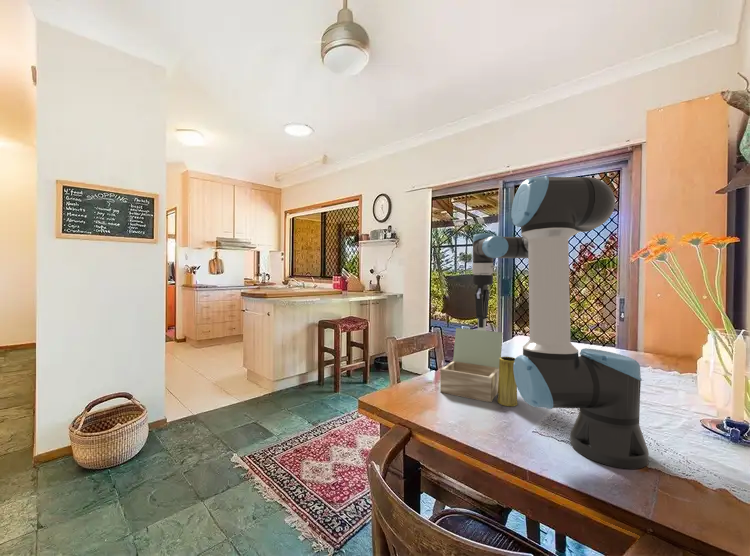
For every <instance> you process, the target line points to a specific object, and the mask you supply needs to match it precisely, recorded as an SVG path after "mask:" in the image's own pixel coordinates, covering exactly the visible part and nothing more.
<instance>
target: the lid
mask: <svg viewBox="0 0 750 556" xmlns="http://www.w3.org/2000/svg"><path fill="white" fill-rule="evenodd" d="M454 335H455V336H454V347H453V349H454V350H453V359H452V361H457V362H464V363H470V364H477V365H484V366H490V367H497V368H499V360H500V359H499V358H500V357H502V350H503V349H502V348H503V335H504V334H503V331H502V332H501V331H491V330H486V331H483V330H478V329H472V328H470V329H469V328H461V327H460V328H459V327H456V328H455V334H454Z"/></svg>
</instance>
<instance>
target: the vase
mask: <svg viewBox="0 0 750 556" xmlns="http://www.w3.org/2000/svg"><path fill="white" fill-rule="evenodd" d="M515 358H516V357H512V356H501V357H500V358H499V359H500V360H499V383H498V393H497V399H496V400H497V403H498V404H499V405H500V406H504V407H516V406H518V388H517V385H516V382H515V378H514V370H513V366H514V362H515V361H514V360H515Z"/></svg>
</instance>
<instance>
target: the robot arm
mask: <svg viewBox="0 0 750 556" xmlns="http://www.w3.org/2000/svg"><path fill="white" fill-rule="evenodd" d="M511 204H512V205H511V212H510V213H511V220H512V224H513V225H514V226H515V227H517V228H520V229H521V230H520V234H521V235H520V236H501V235H493V234H492V233H476V234H474V235H473V238H472V274H473V275H472V277H471V278H472V279H471V280H472V285H475V286H477V287H476V289H475V293H474V298H475V315H476V316H475V319H476V320H477V330H483V331H487V320H488V319H489V314H488V310H489V300H490V299H489V297H490V291H489V289H488V288H489V287H488V286H492V285H493V284H494V276H493V275H492V274H493V273H494V269H495V265H494V259H528V260H527V261H528V307H529V308H528V309H529V310H528V312H529V314H528V315H529V317H528V318H529V320H528V321H529V339H528V342H526V344H524V345H523V346H522V354H521V355H518V356H516V357H514V358H515V360H514V361H515V362H514V366H513V370H514V378H515V382H516V385H517V391H518V392H519V394H520V396H521V398H522V399H523V400H524V402H525V403H527V405H528V406H530V407H533V408H539V409H540V408H542V409H543V408H544V409H548V410H551V409H579V411H578V414H577V416H576V419H575V422H574V424H573V426H572V429H571V431H570V438H569V439H570V440H569V442H570V445H571V447H572V448H573V449H574V451H576V452H577V453H579V455H582V456H584V457H585V458H587V459H589V460H591V461H594V462H596V463H598V464H602V465H606V466H609V467H614V468H620V469H628V470H629V469H630V470H634V469H635V470H636V469H642V468H645V467H646V466H648V464H649V450H648V449H649V448H648V447H647V443H646V441H645V438H644V435H643V433H642V429H641V425H640V414H641V413H640V408H641V407H640V405H641V404H640V403H641V385H642V383H641V382H642V379H643V378H642V377H641V375H642V374H641V365H640V363H639V362H638V361H637V360H636V359H635V358H632V357H629V356H626V355H624V354H620V353H615V352H611V351H607V350H601V349H594V348H582V349H580V352H579V349H577V348H576V346H575V345H573V344H572V342H571V340H572V339H571V304H570V302H571V301H570V296H571V295H570V259H569V258H570V257H569V255H570V252H569V240H570V238H571V237H573V236H575V235H576V234H579V233H587V232H590V231H593V230H595V229H596V228H599V227H601V226H602V225H604V224H605V223H606V222H607V221H608V220H609V219H610V217H611V216H612V214H613V213H614V210H615V206H616V197H615V194H614V192H613V190H612V188H611V187H610V186H609V185H608V184H607V183H605V181H602V180H601V179H599V178H596V177H591V176H590V177H588V176H581V177H578V176H574V177H573V176H568V177H567V176H547V175H544V176H538V177H537V176H536V177H535V176H534V177H529V178H527V179H525V180H524V181H522V183H521V184H520V185H519V187H518V188H517V190H516V193H515V194H514V197H513V201H512V203H511Z"/></svg>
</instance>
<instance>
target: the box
mask: <svg viewBox="0 0 750 556" xmlns="http://www.w3.org/2000/svg"><path fill="white" fill-rule="evenodd" d="M498 383H499V368H497V367H490V366H484V365H477V364H470V363H464V362H457V361H453V360H452V361H450V363H448V364H446V365H444V366H443V367H441V368H440V389H439V391H440V392H439V393H442V394H447V395H452V396H458V397H461V398H468V399H473V400H477V401H481V402H487V403H492V402H493V401H494V399H495V397H496V396H498Z"/></svg>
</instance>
